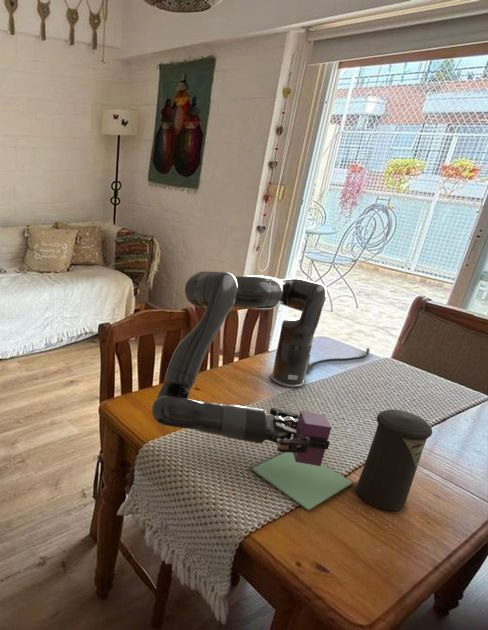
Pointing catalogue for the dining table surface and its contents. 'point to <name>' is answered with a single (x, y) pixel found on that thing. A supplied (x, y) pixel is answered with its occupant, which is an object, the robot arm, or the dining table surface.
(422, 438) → the container
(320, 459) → the block
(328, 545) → the dining table surface
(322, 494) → the mat
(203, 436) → the dining table surface
